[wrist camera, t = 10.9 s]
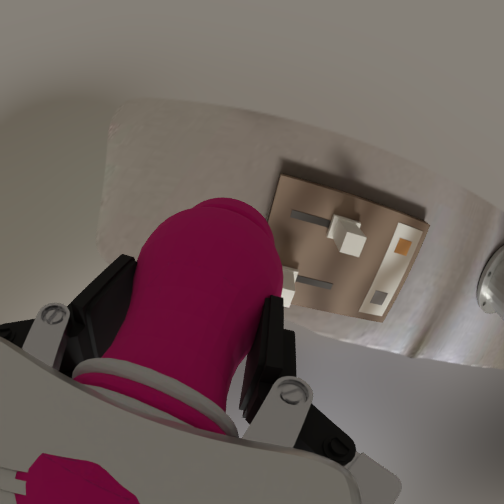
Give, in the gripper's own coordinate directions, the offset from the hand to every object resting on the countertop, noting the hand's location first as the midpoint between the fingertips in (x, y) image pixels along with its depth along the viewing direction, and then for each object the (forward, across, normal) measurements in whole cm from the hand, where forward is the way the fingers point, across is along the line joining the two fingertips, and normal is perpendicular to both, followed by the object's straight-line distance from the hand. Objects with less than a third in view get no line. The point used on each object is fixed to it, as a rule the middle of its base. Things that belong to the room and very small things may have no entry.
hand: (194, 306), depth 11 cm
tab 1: (+17, -6, +7) cm, 20 cm away
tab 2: (+17, -11, 0) cm, 20 cm away
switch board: (+19, -12, +3) cm, 23 cm away
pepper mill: (+7, 0, 0) cm, 7 cm away
